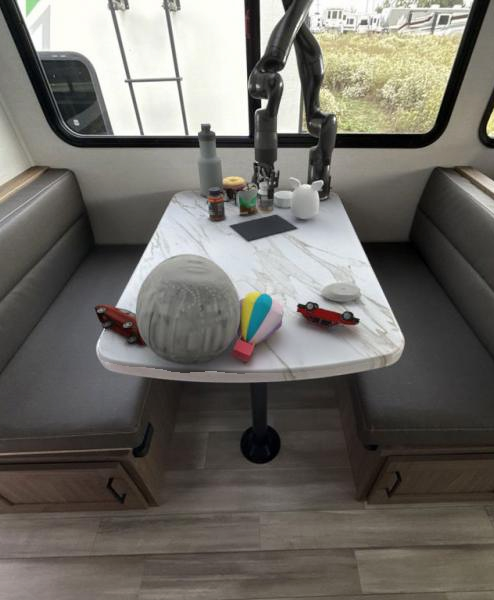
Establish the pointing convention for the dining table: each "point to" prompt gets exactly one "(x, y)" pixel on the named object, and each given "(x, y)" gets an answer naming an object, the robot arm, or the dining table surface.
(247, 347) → the hot air balloon
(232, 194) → the sunglasses
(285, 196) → the ramekin
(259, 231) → the placemat
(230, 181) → the doughnut
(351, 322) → the toy car
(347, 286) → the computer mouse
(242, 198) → the food container
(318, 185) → the piggy bank
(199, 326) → the sculpture
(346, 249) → the dining table surface
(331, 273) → the dining table surface
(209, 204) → the supplement bottle
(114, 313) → the toy car
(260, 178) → the robot arm
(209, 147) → the water bottle
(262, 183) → the pill bottle
